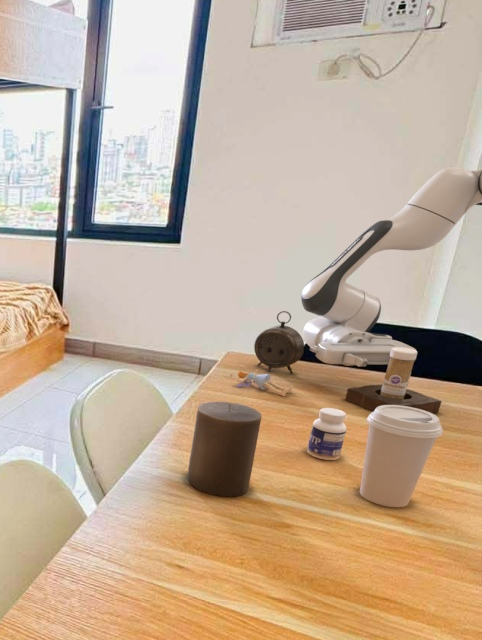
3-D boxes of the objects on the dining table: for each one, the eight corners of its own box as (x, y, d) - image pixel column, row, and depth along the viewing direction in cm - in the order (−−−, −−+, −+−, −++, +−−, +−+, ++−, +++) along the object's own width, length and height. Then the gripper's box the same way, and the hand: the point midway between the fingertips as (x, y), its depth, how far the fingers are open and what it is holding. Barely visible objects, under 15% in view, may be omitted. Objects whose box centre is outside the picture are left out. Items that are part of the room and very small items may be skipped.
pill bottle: (302, 448, 122) (311, 405, 119) (332, 449, 121) (342, 407, 118) (313, 459, 117) (323, 415, 114) (344, 461, 116) (355, 417, 113)
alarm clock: (299, 373, 165) (312, 313, 159) (289, 377, 162) (302, 316, 156) (257, 364, 173) (268, 306, 168) (247, 367, 170) (257, 309, 165)
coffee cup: (357, 506, 101) (379, 420, 96) (342, 480, 110) (362, 400, 105) (429, 516, 98) (457, 428, 93) (408, 489, 106) (432, 406, 101)
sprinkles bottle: (378, 407, 141) (393, 350, 137) (375, 401, 145) (390, 345, 140) (403, 411, 139) (419, 353, 134) (400, 404, 143) (415, 348, 138)
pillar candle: (238, 503, 103) (254, 419, 98) (178, 484, 109) (190, 404, 104) (255, 481, 110) (270, 402, 105) (197, 465, 116) (209, 389, 111)
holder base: (387, 394, 149) (390, 383, 148) (440, 413, 137) (444, 401, 136) (342, 399, 146) (345, 387, 145) (393, 419, 135) (396, 406, 134)
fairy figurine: (282, 386, 145) (230, 369, 153) (275, 405, 147) (225, 387, 155) (301, 376, 152) (250, 360, 160) (294, 394, 154) (245, 377, 162)
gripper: (308, 334, 156) (340, 349, 143) (395, 335, 154) (436, 350, 141) (303, 358, 158) (334, 376, 145) (389, 359, 156) (428, 377, 143)
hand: (385, 363), depth 143 cm, fingers open, 8 cm apart
